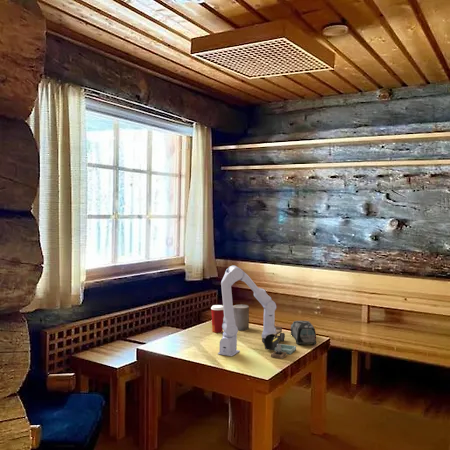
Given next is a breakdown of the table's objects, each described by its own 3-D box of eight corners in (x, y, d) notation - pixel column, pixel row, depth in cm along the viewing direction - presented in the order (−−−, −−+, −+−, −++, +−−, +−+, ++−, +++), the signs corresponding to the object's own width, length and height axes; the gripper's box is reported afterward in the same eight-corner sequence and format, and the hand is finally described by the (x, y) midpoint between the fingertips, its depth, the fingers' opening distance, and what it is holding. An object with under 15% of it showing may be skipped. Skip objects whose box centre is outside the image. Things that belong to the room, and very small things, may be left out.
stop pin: (280, 357, 246) (280, 345, 246) (275, 356, 247) (275, 344, 247) (281, 355, 248) (282, 344, 248) (277, 355, 249) (277, 343, 249)
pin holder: (282, 358, 243) (282, 355, 243) (270, 356, 246) (270, 353, 246) (286, 355, 249) (286, 352, 249) (275, 353, 252) (275, 350, 251)
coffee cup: (227, 331, 293) (227, 305, 292) (219, 334, 286) (220, 308, 285) (214, 328, 297) (215, 304, 296) (207, 332, 290) (207, 306, 289)
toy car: (307, 334, 289) (308, 317, 289) (316, 346, 265) (317, 328, 264) (289, 334, 289) (290, 317, 288) (297, 346, 264) (297, 328, 264)
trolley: (276, 345, 265) (276, 332, 264) (261, 343, 269) (262, 330, 268) (284, 340, 276) (285, 327, 275) (270, 337, 280) (270, 325, 279)
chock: (272, 350, 257) (273, 341, 257) (265, 348, 259) (265, 340, 259) (277, 346, 264) (277, 338, 263) (269, 345, 265) (269, 336, 265)
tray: (290, 354, 250) (290, 350, 250) (274, 352, 254) (274, 348, 254) (295, 350, 258) (296, 346, 258) (280, 347, 262) (280, 343, 262)
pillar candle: (248, 326, 304) (248, 302, 303) (249, 330, 294) (249, 305, 293) (232, 326, 304) (232, 302, 303) (232, 330, 294) (232, 305, 294)
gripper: (270, 326, 247) (270, 353, 248) (281, 320, 260) (280, 346, 261) (257, 324, 251) (257, 351, 251) (268, 318, 264) (268, 344, 264)
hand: (268, 348), depth 256 cm, fingers closed
